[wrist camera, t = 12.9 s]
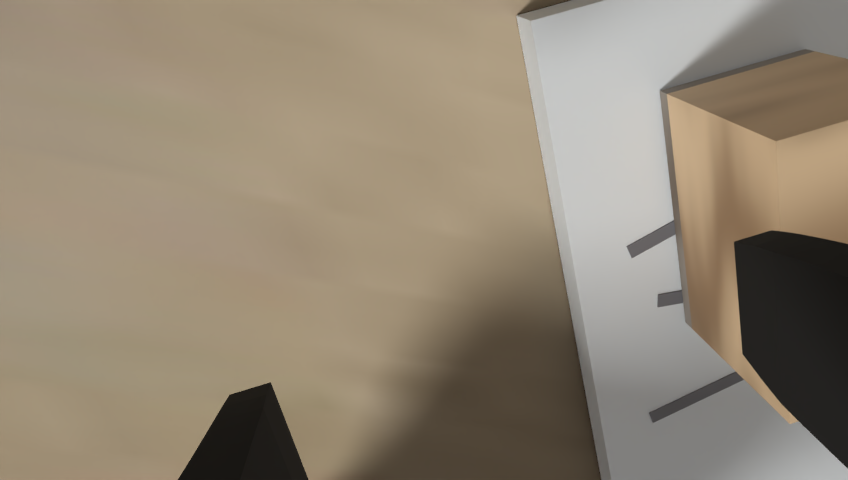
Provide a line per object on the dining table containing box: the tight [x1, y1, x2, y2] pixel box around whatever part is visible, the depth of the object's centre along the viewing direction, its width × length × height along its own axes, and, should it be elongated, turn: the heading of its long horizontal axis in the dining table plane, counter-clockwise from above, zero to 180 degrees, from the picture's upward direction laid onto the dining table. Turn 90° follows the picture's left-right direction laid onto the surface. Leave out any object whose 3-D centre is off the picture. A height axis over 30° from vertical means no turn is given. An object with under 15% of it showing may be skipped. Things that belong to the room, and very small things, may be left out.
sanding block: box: [660, 49, 848, 424], centre depth 19 cm, size 7×4×5 cm, turn 14°
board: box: [517, 0, 848, 480], centre depth 23 cm, size 18×10×1 cm, turn 14°
